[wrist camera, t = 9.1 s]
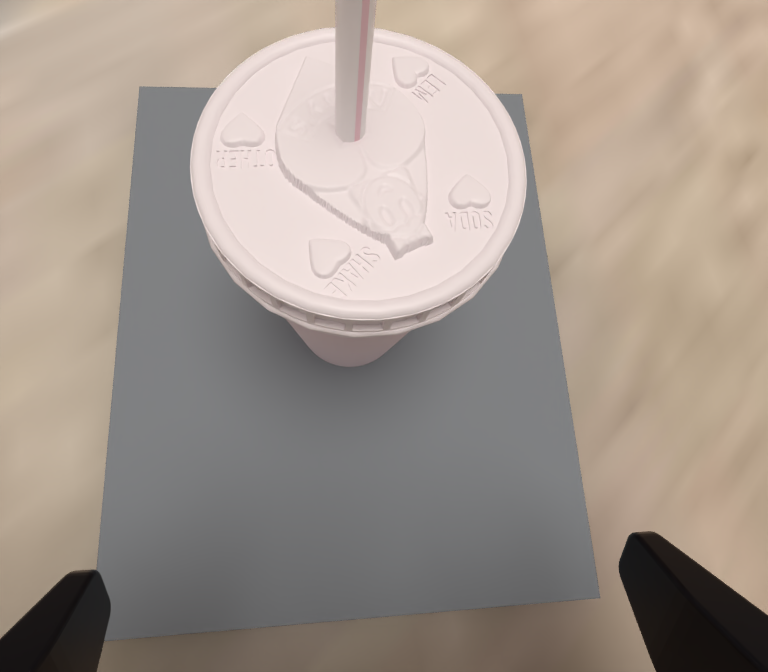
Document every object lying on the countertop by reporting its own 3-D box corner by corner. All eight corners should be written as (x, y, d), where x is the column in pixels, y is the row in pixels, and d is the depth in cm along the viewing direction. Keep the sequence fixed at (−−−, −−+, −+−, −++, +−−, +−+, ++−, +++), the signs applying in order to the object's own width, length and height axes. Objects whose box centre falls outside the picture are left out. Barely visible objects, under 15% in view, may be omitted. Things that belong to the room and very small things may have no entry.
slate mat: (588, 592, 18) (600, 597, 17) (101, 634, 16) (89, 642, 15) (515, 107, 23) (521, 94, 22) (146, 100, 21) (139, 86, 21)
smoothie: (385, 213, 20) (487, -331, 7) (467, 355, 19) (802, 37, 5) (231, 280, 19) (-32, -231, 5) (308, 437, 17) (218, 292, 4)
